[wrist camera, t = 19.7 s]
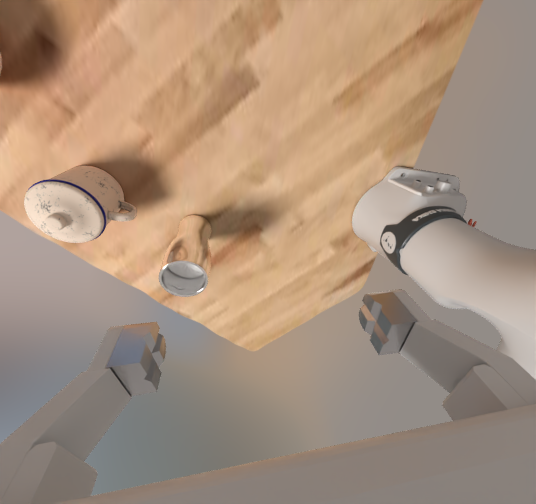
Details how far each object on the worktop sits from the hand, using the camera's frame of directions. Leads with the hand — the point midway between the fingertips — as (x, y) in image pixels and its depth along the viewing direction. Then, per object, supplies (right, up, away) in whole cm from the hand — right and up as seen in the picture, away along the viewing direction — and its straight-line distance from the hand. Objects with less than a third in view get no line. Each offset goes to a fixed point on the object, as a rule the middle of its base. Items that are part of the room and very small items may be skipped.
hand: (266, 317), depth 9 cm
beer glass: (-14, +7, +36) cm, 39 cm away
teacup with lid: (-27, +12, +30) cm, 42 cm away
